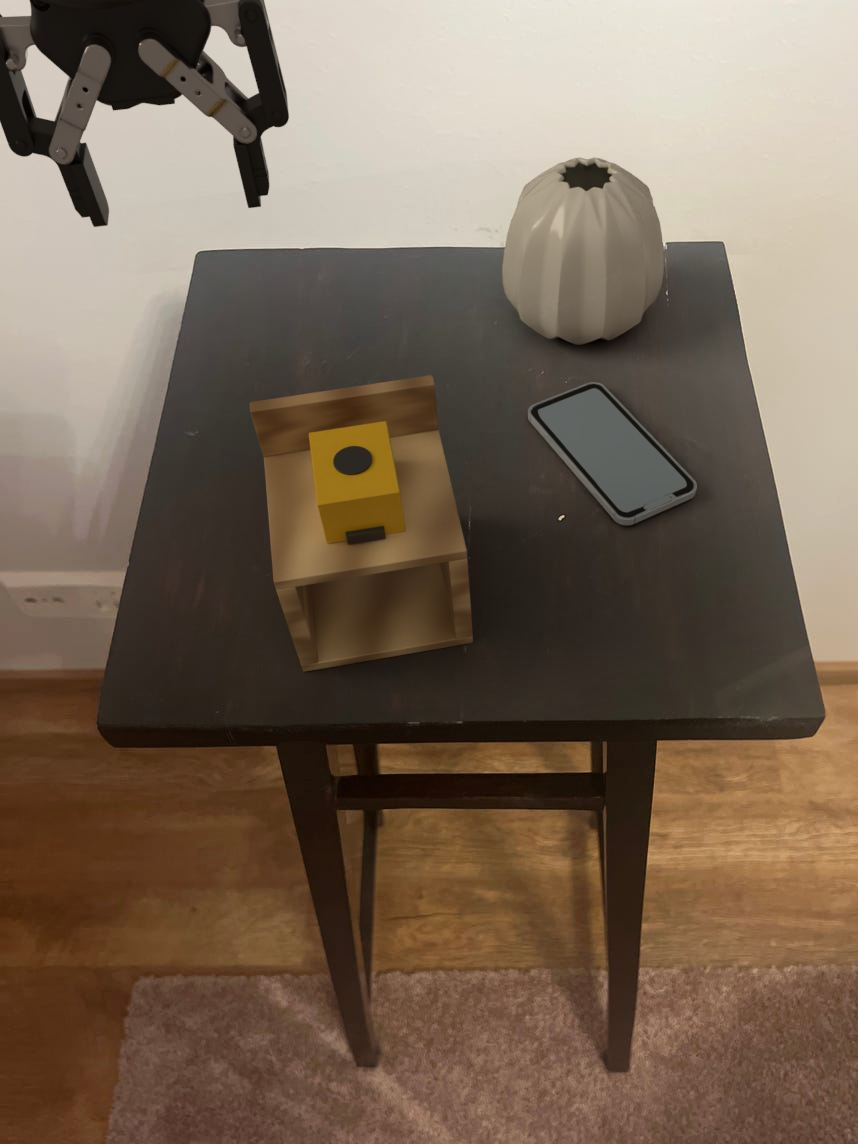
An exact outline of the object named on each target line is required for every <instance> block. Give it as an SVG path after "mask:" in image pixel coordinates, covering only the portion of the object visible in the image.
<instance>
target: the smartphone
mask: <svg viewBox="0 0 858 1144" xmlns="http://www.w3.org/2000/svg"><path fill="white" fill-rule="evenodd" d="M527 419H528V422H530V424H531V425H532V426H533V427H534V428H535V429H536V431H537V432H538V433H539V434H540V436H541V437H543V439H544V440H545V441H546V442H547V444H548V445H549V446H550V447H551V448H552V450H554V452H555V453H556V454H557V455H558V456H559V458H560V459H561V460H562V461H563V462H564V463H565V465H566V466H567V467H568V468H569V469H570V470H571V472H573V474H574V475H575V476H576V477H577V479H578V480H579V481H580V482H581V483H582V485H583V486H584V487H585V488H586V489H587V490H588V491H589V493H590V494H591V495H592V496H593V497H594V499H595V500H596V501H597V502H598V503H599V505H600V506H601V507H602V508H603V509H604V510H605V511H606V512H607V514H608V515H609V516H610V517H611V518H612V520H613V521H614V522H616V523H617V524H619V525H621V526H632V525H634V524H637V523H640V522H642V521H644V520H646V519H648V518H651V517H653V516H655V515H657V514H660V513H662V512H664V511H666V510H669V509H671V508H673V507H676V506H677V505H681V504H682V503H685V502H687V501H689V500H691V499H693V498H694V497H695V496H696V493H697V488H698V486H697V485H698V484H697V482H696V480H695V479H694V478H693V477H692V476H691V475H690V474H689V472H687V471H686V470H685V469H684V468H683V467H682V466H681V464H680V463H679V462H678V461H677V460H676V459H675V458H674V457H673V456H672V455H671V454H670V453H669V452H668V451H667V450H666V449H665V448H664V446H663V445H661V443H660V442H659V441H658V440H657V439H656V438H655V437H654V436H653V435H652V434H651V433H650V432H649V431H648V430H647V429H646V428H645V427H644V425H643V424H642V423H640V422H639V420H637V418H636V417H635V416H634V415H633V414H632V413H631V412H630V411H629V410H628V409H627V408H626V407H625V406H624V404H622V402H620V400H619V399H618V398H617V397H616V396H615V395H614V394H613V393H612V392H611V391H610V390H609V389H608V388H607V387H606V386H605V385H604V384H602V383H600V382H595V381H592V382H587V383H584V384H582V385H579V386H577V387H575V388H572V389H569V390H566V391H564V392H562V393H559V394H556V395H554V396H551V397H549V398H547V399H543V400H542V401H539V402H537V403H534V404H531V405H530V406H529V408H528V410H527Z"/></svg>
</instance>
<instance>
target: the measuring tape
mask: <svg viewBox="0 0 858 1144" xmlns="http://www.w3.org/2000/svg"><path fill="white" fill-rule="evenodd" d="M309 441H310V449H311V458H312V466H313V474H314V482H315V491H316V499H317V506H318V510H319V514H320V518H321V522H322V526H323V530H324V534H325V538H326V542H327V544H330V543H336V542H343V541H347V543H348V545H349V544H355V543H361V542H368V541H374V540H380V539H385V538H386V534H392V533H398V532H404V531H405V523H404V516H403V509H402V502H401V495H400V489H399V484H398V479H397V473H396V468H395V463H394V458H393V452H392V447H391V442H390V437H389V431H388V426H387V422H386V421H383V422H376V423H369V424H363V425H356V426H350V427H343V428H337V429H330V430H324V431H317V432H311V433H309Z"/></svg>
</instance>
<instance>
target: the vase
mask: <svg viewBox="0 0 858 1144" xmlns="http://www.w3.org/2000/svg"><path fill="white" fill-rule="evenodd" d="M663 242H664V241H663V233H662V227H661V221H660V219H659V216H658V213H657V209H656V207H655V205H654V199H653V196H652V193H651V190H650V188H649V186H648V185H647V184H646V183H645V182H643V181H642V180H641V179H640V178H638V176H636V175H634V174H633V173H632V172H630V171H628V170H627V169H625V168H623V167H622V166H620V165H618V164H617V163H614V162H611V161H608V160H605V159H603V158H600V157H590V158H583V157H574V158H570V159H568V160H566V161H562V162H559V163H557V164H554V165H553V166H552V167H549V168H548V169H547V170H544V171H543V172H541V173H540V174H539V175H537V176H535V177H534V178H533V179H531V180H530V181H528V183H526V184H525V185H524V186H523V188H522V190H521V193H520V195H519V196H518V201H517V204H516V207H515V210H514V213H513V215H512V217H511V219H510V222H509V227H508V231H507V234H506V240H505V246H504V250H503V259H502V267H501V268H502V269H501V275H502V287H503V291H504V295H505V297H506V298H507V300H508V301H509V302H510V304H511V305H512V306H513V308H514V309H515V310H516V311H517V313H518V316H519V320H520V321H521V322H523V323H524V324H525V325H526V326H528V327H529V328H531V329H532V330H533V331H535V332H536V333H538V334H539V335H541V337H544V338H545V339H547V340H554V339H562V340H564V341H566V342H569V343H570V344H573V345H576V346H581V345H585V344H587V343H591V342H593V341H596V340H598V339H601V340H604V341H611V340H614V339H616V338H618V337H619V336H621V335H622V334H624V333H626V332H628V331H629V330H630V329H632V328H634V327H635V326H637V325H639V324H640V323H641V321H642V320H643V316H644V313H645V312H647V310H648V309H649V308H650V307H651V306H652V305H653V303H655V302H656V300H657V299H658V297H659V295H660V291H661V289H662V285H663V280H664V279H663V278H664V269H665V268H664V264H665V263H664V261H665V260H664V243H663Z"/></svg>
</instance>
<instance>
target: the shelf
mask: <svg viewBox="0 0 858 1144" xmlns="http://www.w3.org/2000/svg"><path fill="white" fill-rule="evenodd" d="M249 413H250V416H251V419H252V422H253V426H254V430H255V433H256V437H257V439H258V443H259V447H260V450H261V453H262V456H263V464H264V479H265V489H266V490H265V492H266V502H267V503H266V505H267V515H268V517H267V518H268V530H269V543H270V554H271V567H272V577H273V578H272V580H273V584H274V585H273V586H274V588H275V589H276V590H275V591H276V594H277V597H278V600H279V603H280V606H281V609H282V612H283V616H284V617H285V622H286V625H287V627H288V630H289V633H290V636H291V639H292V642H293V645H294V648H295V651H296V655H297V657H298V659H299V663H300V666H301V669H302V672H305V673H306V672H310V671H316V670H323V669H329V668H333V667H340V666H346V665H351V664H352V665H353V664H357V663H362V662H369V661H370V662H371V661H376V660H381V659H386V658H392V657H393V658H394V657H399V656H405V655H410V654H416V653H421V652H428V651H433V650H439V649H444V648H445V649H446V648H450V647H451V648H452V647H456V646H463V645H468V644H473V643H474V634H473V618H472V604H471V592H470V591H471V589H470V577H469V576H470V575H469V562H468V561H469V560H468V549H467V546H466V541H465V536H464V532H463V528H462V523H461V520H460V515H459V511H458V506H457V502H456V497H455V495H454V490H453V486H452V480H451V476H450V473H449V468H448V463H447V459H446V457H445V455H446V454H445V450H444V447H443V441H442V438H441V433H440V430H439V429H440V428H439V417H438V406H437V395H436V384H435V380H434V376H433V375H432V374H430V375H423V376H414V377H410V378H402V379H395V380H390V381H384V382H376V383H369V384H362V385H356V386H350V387H342V388H336V389H335V388H334V389H328V390H322V391H315V392H310V393H309V392H308V393H303V394H302V393H301V394H295V395H289V396H283V397H276V398H269V399H263V400H255V401H250V402H249ZM383 421H386V422H387V426H388V431H389V437H390V442H391V447H392V452H393V458H394V463H395V468H396V473H397V479H398V484H399V489H400V495H401V502H402V509H403V516H404V523H405V531H404V532H398V533H392V534H386V538H385V539H380V540H374V541H368V542H361V543H355V544H349V545H348V543H347V541H343V542H336V543H330V544H327V542H326V538H325V534H324V530H323V526H322V522H321V518H320V514H319V510H318V506H317V499H316V491H315V482H314V474H313V466H312V458H311V449H310V441H309V433H311V432H317V431H324V430H330V429H337V428H343V427H350V426H356V425H363V424H369V423H376V422H383Z"/></svg>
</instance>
